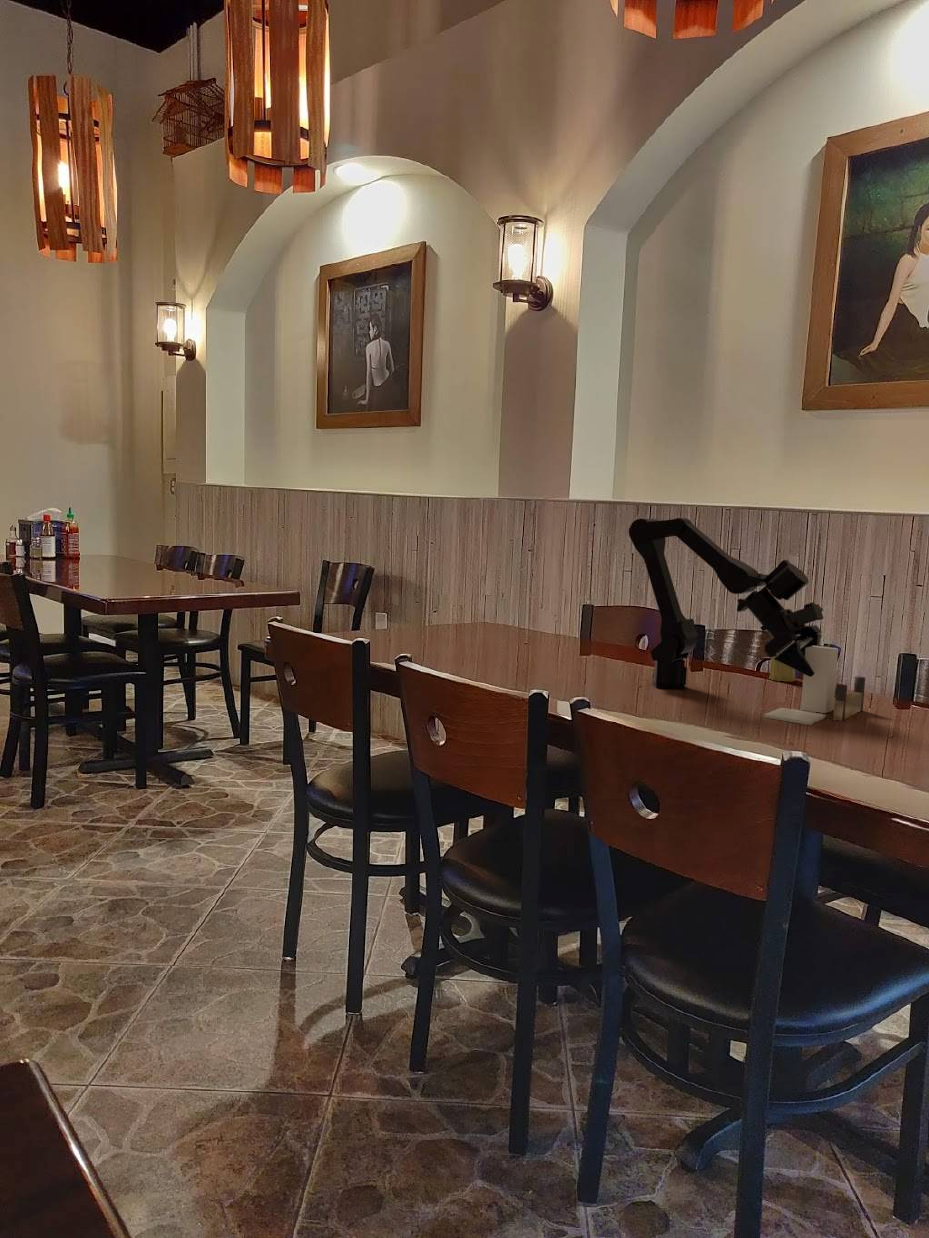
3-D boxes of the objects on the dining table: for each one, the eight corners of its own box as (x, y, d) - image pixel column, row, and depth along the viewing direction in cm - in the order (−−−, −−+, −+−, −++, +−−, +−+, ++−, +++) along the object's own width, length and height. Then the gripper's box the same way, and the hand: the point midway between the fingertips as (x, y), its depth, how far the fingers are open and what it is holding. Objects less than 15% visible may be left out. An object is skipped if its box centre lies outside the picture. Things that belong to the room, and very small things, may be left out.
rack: (832, 719, 184) (835, 684, 183) (853, 709, 195) (856, 676, 194) (842, 721, 183) (845, 686, 182) (863, 710, 194) (866, 677, 193)
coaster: (764, 717, 185) (764, 714, 184) (781, 710, 192) (781, 707, 191) (810, 725, 179) (810, 722, 179) (825, 717, 186) (825, 714, 186)
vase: (796, 679, 228) (800, 621, 226) (793, 683, 223) (798, 624, 221) (770, 676, 231) (774, 619, 229) (767, 680, 225) (771, 621, 223)
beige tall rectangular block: (800, 710, 193) (805, 647, 191) (809, 706, 196) (813, 645, 195) (825, 714, 189) (830, 650, 188) (833, 710, 193) (838, 648, 192)
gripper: (783, 592, 186) (836, 653, 180) (815, 587, 200) (864, 644, 195) (743, 627, 192) (792, 687, 186) (776, 620, 206) (823, 676, 201)
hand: (820, 672), depth 192 cm, fingers open, 9 cm apart
